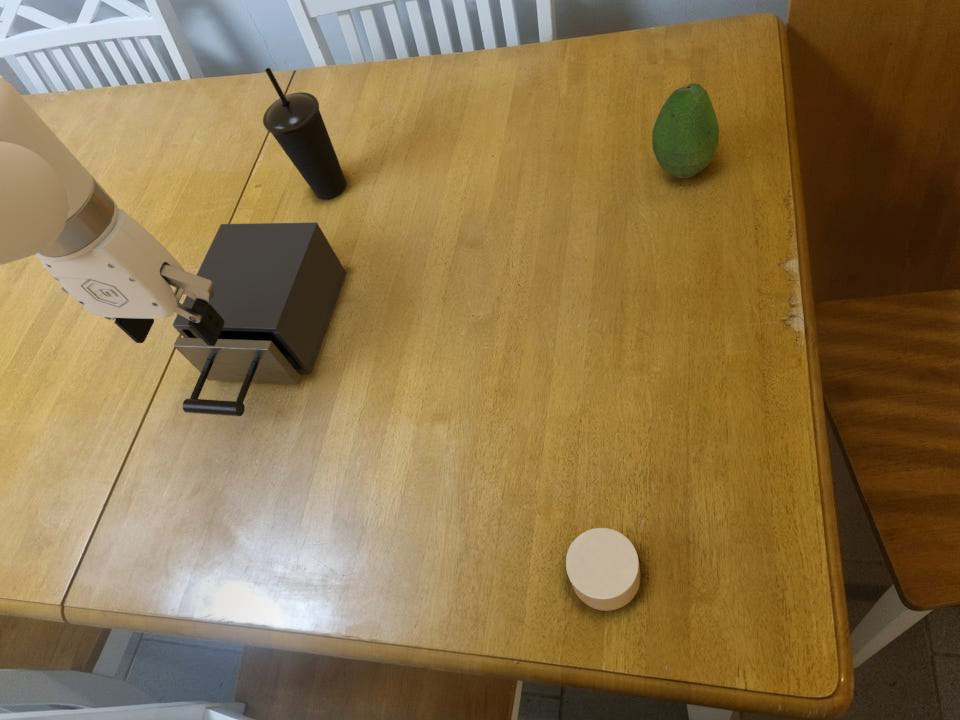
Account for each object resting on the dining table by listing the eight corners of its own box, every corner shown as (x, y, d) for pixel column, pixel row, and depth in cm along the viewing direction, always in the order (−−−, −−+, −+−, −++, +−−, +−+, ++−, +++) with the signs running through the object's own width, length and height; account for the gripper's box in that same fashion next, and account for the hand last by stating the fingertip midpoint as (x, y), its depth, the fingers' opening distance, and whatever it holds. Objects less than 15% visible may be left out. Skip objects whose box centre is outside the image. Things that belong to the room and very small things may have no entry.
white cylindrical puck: (613, 625, 65) (610, 614, 62) (557, 582, 69) (551, 569, 65) (654, 568, 67) (653, 555, 64) (597, 528, 70) (593, 513, 67)
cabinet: (311, 373, 88) (275, 328, 81) (214, 368, 92) (171, 325, 84) (346, 272, 96) (317, 222, 88) (256, 271, 100) (220, 223, 92)
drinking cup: (323, 215, 103) (256, 98, 87) (296, 191, 107) (228, 75, 91) (365, 184, 105) (308, 63, 88) (338, 161, 109) (278, 42, 93)
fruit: (727, 153, 93) (733, 73, 83) (703, 197, 90) (706, 119, 80) (667, 141, 96) (666, 62, 86) (642, 183, 93) (638, 106, 83)
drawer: (279, 437, 83) (246, 404, 77) (187, 429, 87) (148, 397, 81) (332, 288, 94) (307, 248, 88) (248, 286, 98) (218, 248, 91)
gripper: (-36, 250, 62) (97, 360, 77) (133, 250, 57) (241, 367, 72) (9, 186, 66) (127, 302, 80) (170, 181, 61) (266, 305, 76)
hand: (181, 332), depth 76 cm, fingers open, 8 cm apart
